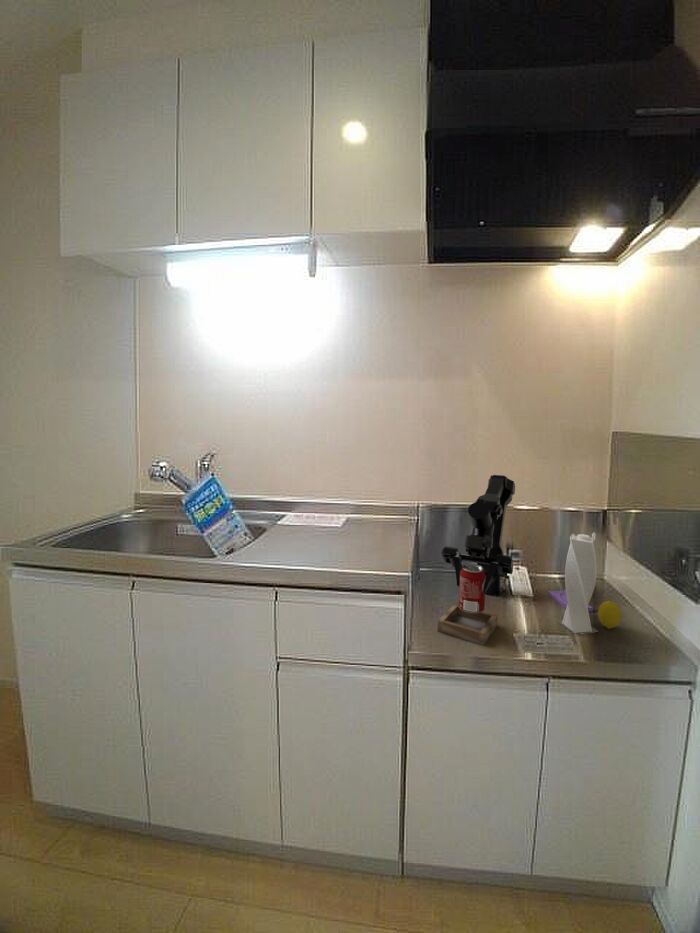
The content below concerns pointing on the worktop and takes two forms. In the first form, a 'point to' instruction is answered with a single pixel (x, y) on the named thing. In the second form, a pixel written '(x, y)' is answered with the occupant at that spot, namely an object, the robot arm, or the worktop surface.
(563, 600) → the sponges
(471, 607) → the soda can
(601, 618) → the lemon
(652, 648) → the worktop surface
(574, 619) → the skyscraper
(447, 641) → the worktop surface
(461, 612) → the wooden square tray
